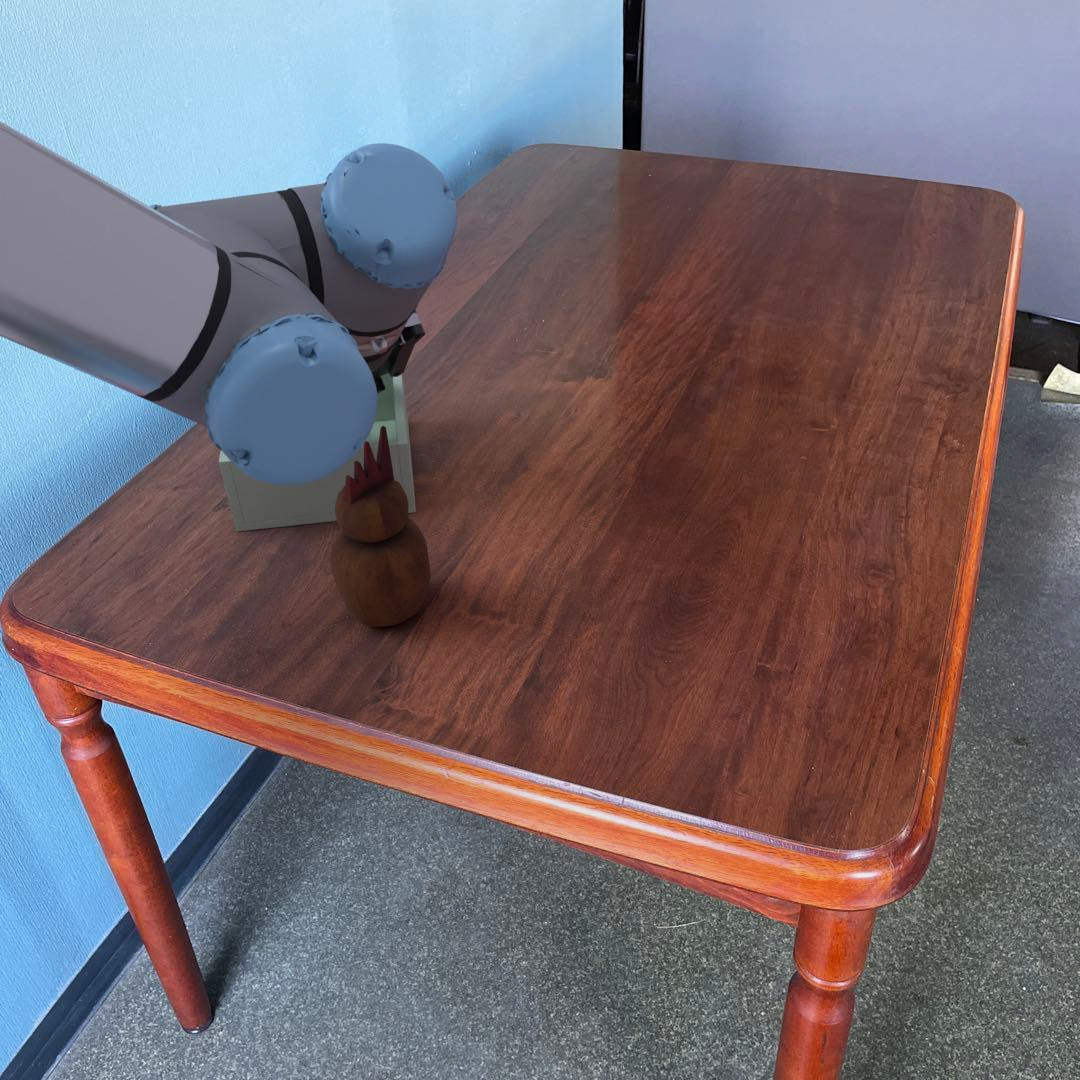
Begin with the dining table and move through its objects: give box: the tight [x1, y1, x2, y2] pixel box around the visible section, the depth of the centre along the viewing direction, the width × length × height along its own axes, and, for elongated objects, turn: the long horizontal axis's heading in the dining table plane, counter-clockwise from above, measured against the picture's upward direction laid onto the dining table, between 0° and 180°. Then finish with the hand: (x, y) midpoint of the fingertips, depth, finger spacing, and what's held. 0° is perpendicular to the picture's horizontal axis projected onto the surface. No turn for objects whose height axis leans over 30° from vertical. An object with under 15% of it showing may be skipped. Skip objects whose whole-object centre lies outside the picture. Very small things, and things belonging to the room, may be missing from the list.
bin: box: [218, 373, 417, 532], centre depth 92 cm, size 15×15×7 cm
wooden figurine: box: [329, 426, 432, 628], centre depth 74 cm, size 7×6×15 cm
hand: (306, 411), depth 93 cm, fingers closed on beverage can, 7 cm apart
